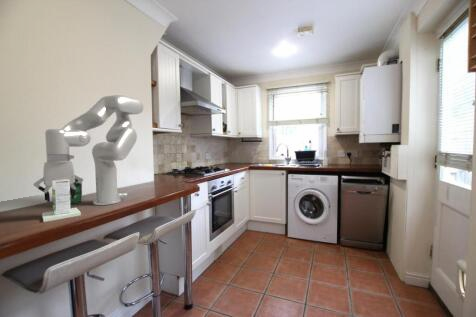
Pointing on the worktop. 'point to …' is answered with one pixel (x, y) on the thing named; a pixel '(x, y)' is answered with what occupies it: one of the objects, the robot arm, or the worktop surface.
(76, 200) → the coffee box
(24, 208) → the worktop surface
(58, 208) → the syrup box
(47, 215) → the sage board
